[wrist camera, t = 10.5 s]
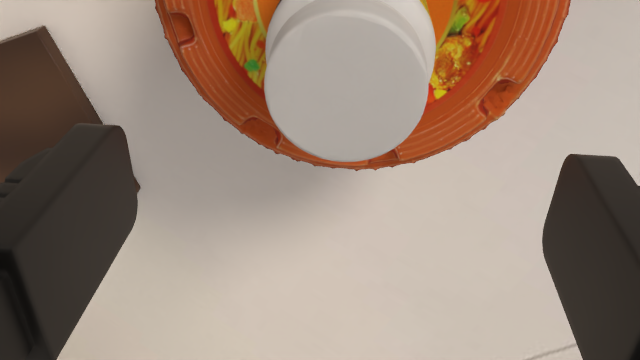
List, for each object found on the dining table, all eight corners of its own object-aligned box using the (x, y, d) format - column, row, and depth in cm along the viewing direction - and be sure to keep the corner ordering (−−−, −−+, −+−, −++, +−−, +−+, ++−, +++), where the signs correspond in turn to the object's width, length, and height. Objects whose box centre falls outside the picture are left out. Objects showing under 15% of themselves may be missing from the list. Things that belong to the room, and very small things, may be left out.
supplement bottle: (302, -87, 19) (260, -31, 12) (438, -60, 19) (475, 13, 12) (282, 46, 22) (239, 158, 15) (402, 70, 22) (416, 192, 15)
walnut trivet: (-110, 79, 36) (-121, 85, 36) (44, 25, 34) (36, 30, 33) (1, 223, 42) (-6, 231, 41) (141, 188, 39) (135, 195, 39)
